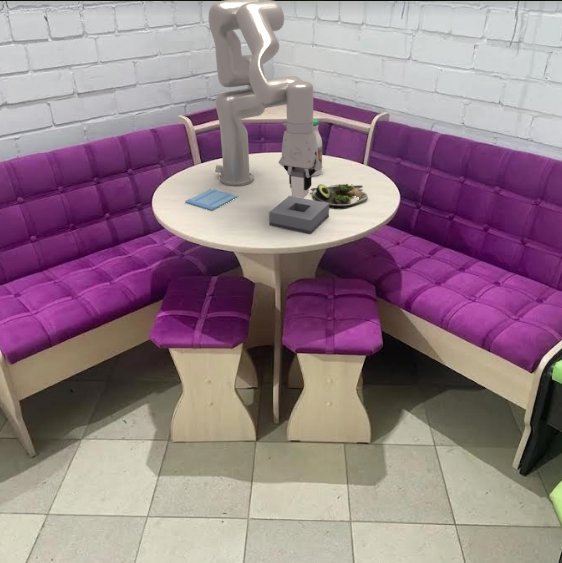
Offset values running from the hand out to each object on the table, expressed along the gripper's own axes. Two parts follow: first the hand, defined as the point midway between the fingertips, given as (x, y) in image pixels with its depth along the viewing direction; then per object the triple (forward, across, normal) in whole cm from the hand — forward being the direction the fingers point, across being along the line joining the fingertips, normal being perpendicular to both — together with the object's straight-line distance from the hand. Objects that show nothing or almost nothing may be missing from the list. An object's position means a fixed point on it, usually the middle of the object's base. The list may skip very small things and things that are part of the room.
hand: (300, 187), depth 171 cm
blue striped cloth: (+11, -34, +2) cm, 36 cm away
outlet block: (+11, 0, 0) cm, 11 cm away
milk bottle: (+11, -14, +40) cm, 44 cm away
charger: (+2, 0, 0) cm, 2 cm away
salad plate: (+12, +4, +22) cm, 25 cm away
